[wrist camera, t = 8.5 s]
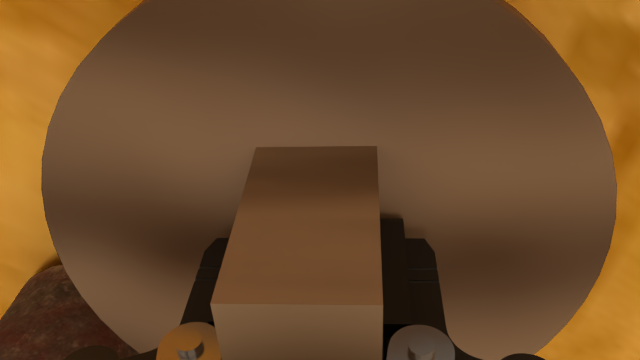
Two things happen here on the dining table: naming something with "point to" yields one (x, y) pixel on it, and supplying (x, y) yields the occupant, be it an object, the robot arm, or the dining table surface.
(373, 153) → the lid
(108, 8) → the dining table surface
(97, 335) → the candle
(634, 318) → the dining table surface
